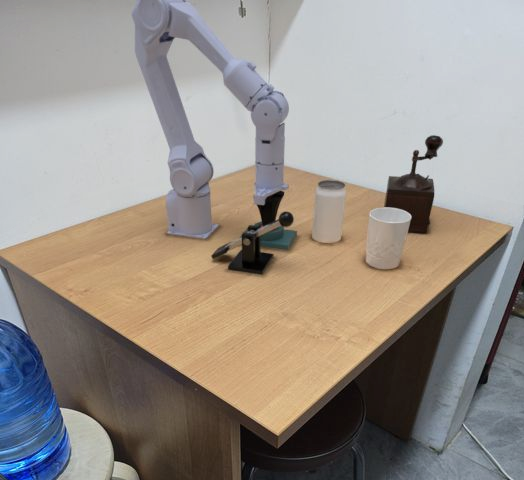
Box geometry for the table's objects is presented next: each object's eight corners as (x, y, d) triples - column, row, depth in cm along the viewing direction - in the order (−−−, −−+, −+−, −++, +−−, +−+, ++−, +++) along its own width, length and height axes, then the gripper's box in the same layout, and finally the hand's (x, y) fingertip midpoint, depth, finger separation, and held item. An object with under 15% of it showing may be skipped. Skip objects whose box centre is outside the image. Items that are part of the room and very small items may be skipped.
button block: (238, 244, 105) (238, 230, 103) (249, 230, 111) (249, 217, 109) (287, 251, 102) (288, 237, 100) (296, 236, 108) (297, 222, 107)
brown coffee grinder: (430, 234, 110) (449, 151, 99) (380, 229, 112) (393, 147, 101) (427, 210, 122) (444, 133, 112) (382, 206, 124) (395, 130, 113)
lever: (215, 263, 97) (208, 251, 96) (222, 255, 100) (215, 243, 99) (293, 226, 88) (286, 213, 87) (298, 218, 91) (291, 205, 90)
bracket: (228, 270, 95) (226, 236, 91) (241, 253, 101) (240, 220, 97) (262, 275, 94) (262, 240, 89) (273, 258, 100) (274, 224, 95)
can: (339, 246, 105) (346, 190, 98) (310, 243, 106) (314, 188, 99) (342, 234, 110) (348, 180, 103) (313, 231, 111) (317, 178, 104)
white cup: (404, 257, 101) (413, 210, 95) (399, 274, 95) (409, 225, 89) (365, 251, 103) (372, 205, 97) (359, 267, 97) (366, 219, 91)
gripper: (279, 173, 90) (277, 242, 98) (297, 153, 101) (294, 216, 109) (243, 170, 92) (244, 237, 100) (265, 150, 103) (264, 213, 111)
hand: (268, 226), depth 105 cm, fingers closed, pressing on button
